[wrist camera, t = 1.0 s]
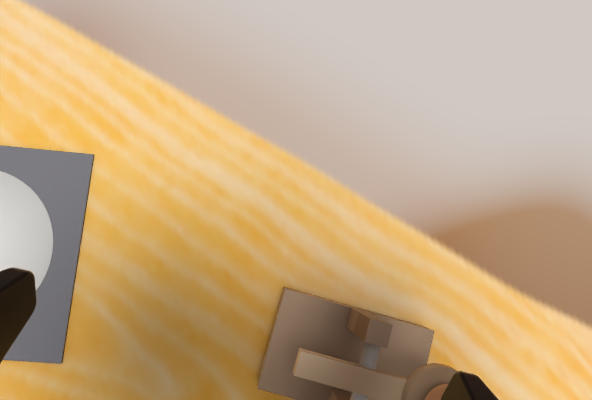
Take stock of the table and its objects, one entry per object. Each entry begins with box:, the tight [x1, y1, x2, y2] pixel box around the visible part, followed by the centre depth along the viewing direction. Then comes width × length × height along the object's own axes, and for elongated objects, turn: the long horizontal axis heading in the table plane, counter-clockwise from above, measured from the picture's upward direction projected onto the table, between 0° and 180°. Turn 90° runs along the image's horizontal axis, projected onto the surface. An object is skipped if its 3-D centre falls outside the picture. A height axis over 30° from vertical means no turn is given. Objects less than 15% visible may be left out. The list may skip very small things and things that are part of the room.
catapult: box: [258, 287, 458, 400], centre depth 19 cm, size 8×5×8 cm, turn 74°
